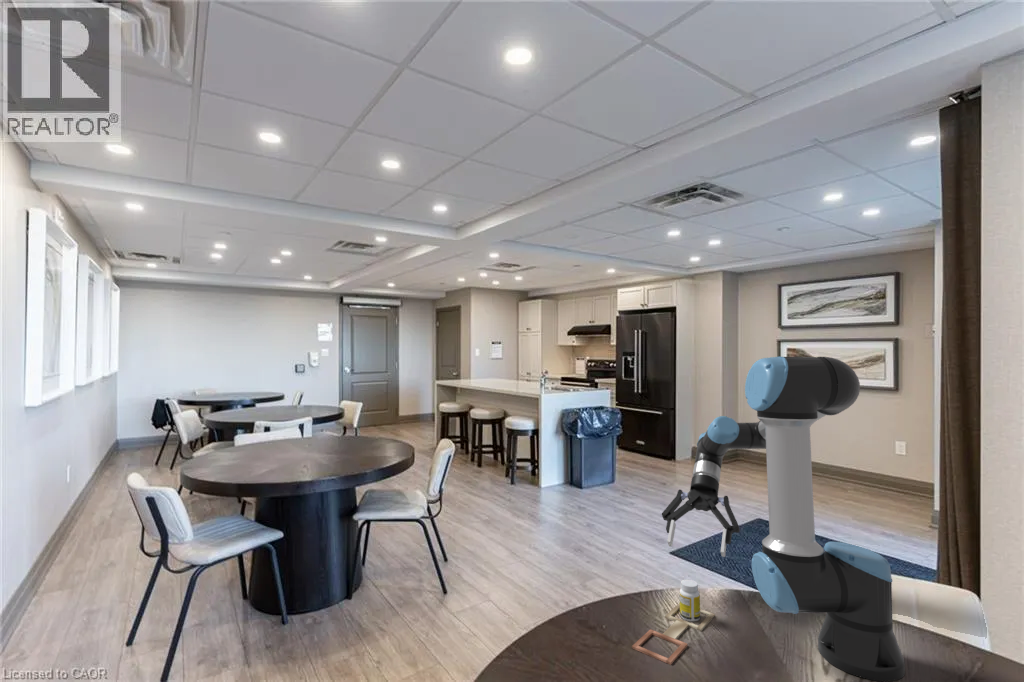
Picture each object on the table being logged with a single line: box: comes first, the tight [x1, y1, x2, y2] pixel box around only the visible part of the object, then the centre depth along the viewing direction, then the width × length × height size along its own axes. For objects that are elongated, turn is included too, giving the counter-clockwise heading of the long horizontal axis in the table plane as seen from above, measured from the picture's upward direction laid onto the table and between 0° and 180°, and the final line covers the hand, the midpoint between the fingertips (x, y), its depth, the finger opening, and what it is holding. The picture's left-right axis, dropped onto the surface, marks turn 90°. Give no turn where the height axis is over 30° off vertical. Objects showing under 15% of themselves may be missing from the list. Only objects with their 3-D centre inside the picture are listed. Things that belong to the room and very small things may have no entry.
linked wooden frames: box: [631, 602, 716, 666], centre depth 116 cm, size 9×26×1 cm, turn 138°
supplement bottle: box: [679, 579, 701, 623], centre depth 123 cm, size 5×5×8 cm
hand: (695, 549), depth 131 cm, fingers open, 13 cm apart
